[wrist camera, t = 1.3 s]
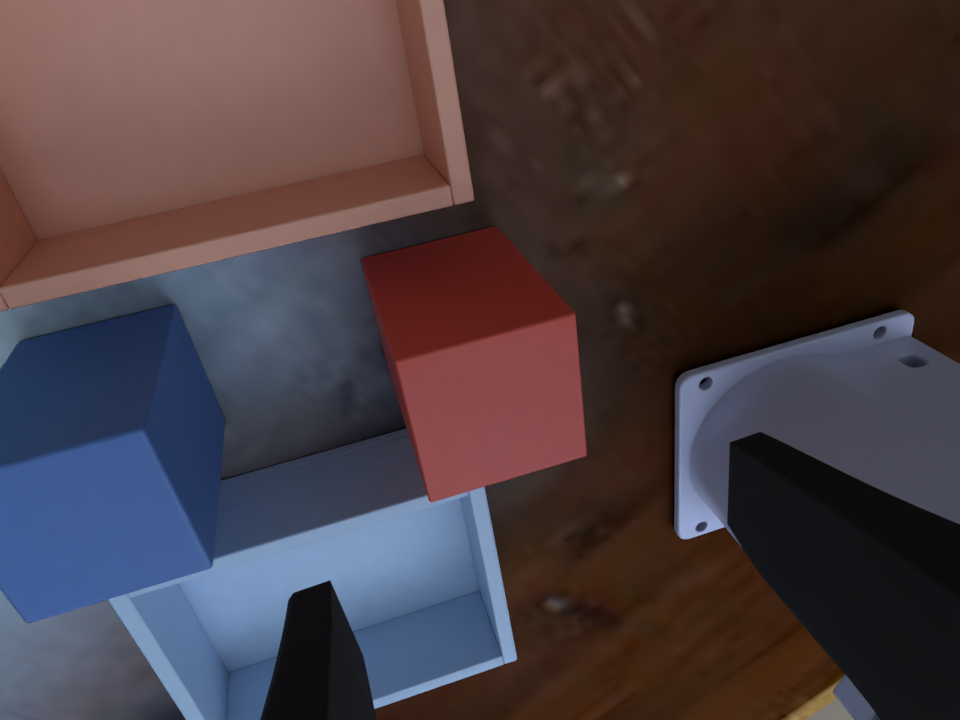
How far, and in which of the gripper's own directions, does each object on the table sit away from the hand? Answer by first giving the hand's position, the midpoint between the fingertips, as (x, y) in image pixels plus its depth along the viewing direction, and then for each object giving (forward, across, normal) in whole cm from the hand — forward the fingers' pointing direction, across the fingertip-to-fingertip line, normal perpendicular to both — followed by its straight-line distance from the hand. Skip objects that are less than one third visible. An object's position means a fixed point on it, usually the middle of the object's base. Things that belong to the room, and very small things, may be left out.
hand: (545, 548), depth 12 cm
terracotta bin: (+10, +4, -8) cm, 14 cm away
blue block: (+10, +8, 0) cm, 13 cm away
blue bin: (+10, +5, +8) cm, 14 cm away
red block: (+10, 0, 0) cm, 10 cm away
